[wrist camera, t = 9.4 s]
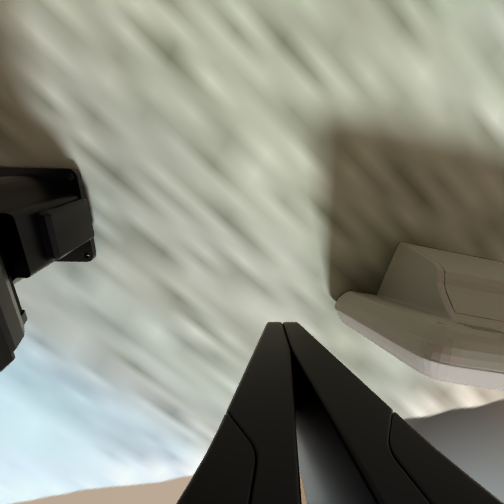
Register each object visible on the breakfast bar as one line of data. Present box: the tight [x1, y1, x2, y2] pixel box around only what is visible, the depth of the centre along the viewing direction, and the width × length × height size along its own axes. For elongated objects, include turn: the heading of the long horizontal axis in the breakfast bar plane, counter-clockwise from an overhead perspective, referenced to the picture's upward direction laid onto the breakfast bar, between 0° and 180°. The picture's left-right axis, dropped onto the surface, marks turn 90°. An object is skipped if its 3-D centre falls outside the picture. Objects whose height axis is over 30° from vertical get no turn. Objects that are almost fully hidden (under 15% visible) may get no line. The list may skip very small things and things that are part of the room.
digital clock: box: [335, 242, 504, 391], centre depth 18 cm, size 16×9×11 cm, turn 67°
